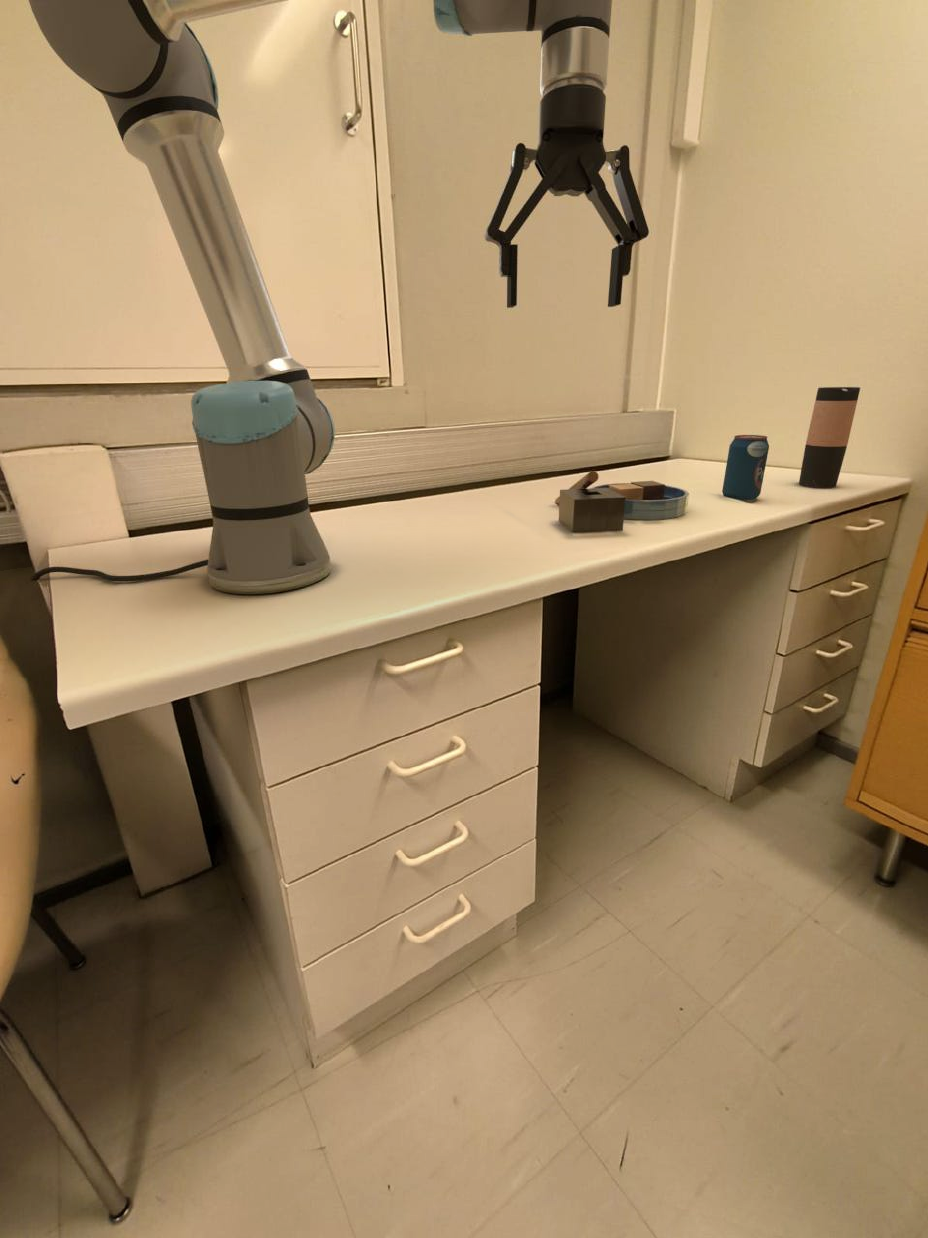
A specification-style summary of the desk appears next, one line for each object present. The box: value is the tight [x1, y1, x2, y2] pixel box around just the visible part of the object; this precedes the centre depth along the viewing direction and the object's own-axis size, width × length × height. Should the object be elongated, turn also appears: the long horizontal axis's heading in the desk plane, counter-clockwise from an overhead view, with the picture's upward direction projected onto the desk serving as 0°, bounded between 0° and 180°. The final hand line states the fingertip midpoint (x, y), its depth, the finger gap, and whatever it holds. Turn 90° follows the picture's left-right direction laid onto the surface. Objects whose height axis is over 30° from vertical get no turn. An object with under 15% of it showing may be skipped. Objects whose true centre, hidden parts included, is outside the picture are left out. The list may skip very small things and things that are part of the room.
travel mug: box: [798, 386, 861, 489], centre depth 120 cm, size 8×8×20 cm
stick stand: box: [558, 487, 626, 534], centre depth 91 cm, size 8×8×6 cm
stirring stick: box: [554, 470, 599, 505], centre depth 99 cm, size 2×2×20 cm
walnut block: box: [630, 480, 666, 501], centre depth 103 cm, size 4×4×4 cm
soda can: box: [721, 434, 770, 503], centre depth 110 cm, size 7×7×12 cm
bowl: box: [589, 482, 690, 521], centre depth 102 cm, size 17×17×4 cm
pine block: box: [609, 484, 644, 500], centre depth 101 cm, size 4×4×4 cm
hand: (563, 306), depth 73 cm, fingers open, 13 cm apart
